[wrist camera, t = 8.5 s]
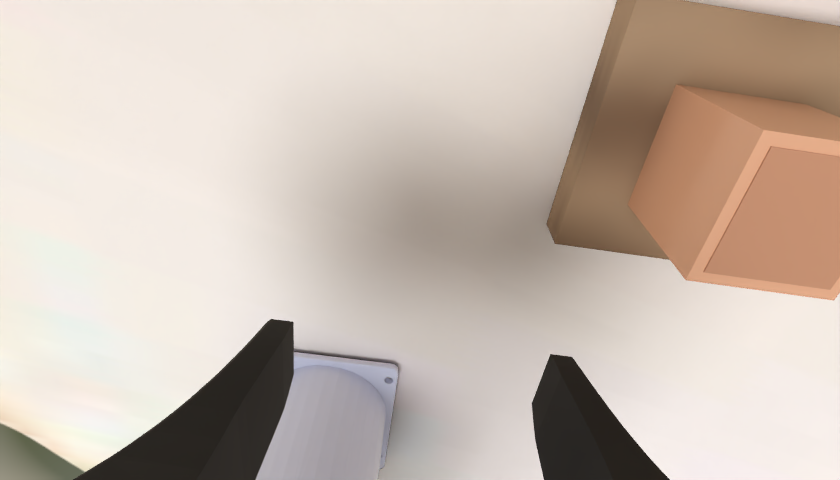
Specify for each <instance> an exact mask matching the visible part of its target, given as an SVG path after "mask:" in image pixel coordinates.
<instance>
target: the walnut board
mask: <svg viewBox="0 0 840 480" xmlns="http://www.w3.org/2000/svg"><path fill="white" fill-rule="evenodd" d="M676 84H678V85H684V86H691V87H697V88H704V89H710V90H717V91H723V92H730V93H736V94H743V95H749V96H756V97H762V98H769V99H775V100H782V101H788V102H795V103H801V104H807V105H809V106H812V107H814V108H817V109H819V110H822V111H825V112H827V113H830V114H832V115H835V116H837V117H840V26H835V25H829V24H822V23H816V22H810V21H804V20H798V19H792V18H786V17H780V16H774V15H768V14H762V13H755V12H749V11H743V10H737V9H731V8H725V7H719V6H713V5H707V4H701V3H695V2H689V1H682V0H617V3H616V6H615V9H614V12H613V15H612V18H611V22H610V25H609V28H608V31H607V34H606V37H605V41H604V44H603V47H602V50H601V53H600V56H599V60H598V63H597V66H596V69H595V72H594V75H593V79H592V82H591V85H590V88H589V91H588V94H587V98H586V101H585V104H584V107H583V110H582V113H581V117H580V120H579V123H578V126H577V129H576V132H575V136H574V139H573V142H572V145H571V148H570V151H569V155H568V158H567V161H566V164H565V167H564V170H563V174H562V177H561V180H560V183H559V186H558V189H557V193H556V196H555V199H554V202H553V205H552V208H551V212H550V215H549V218H548V221H547V226H548V228H549V231H550V233H551V235H552V238H553V240H554V243H555V244H561V245H568V246H575V247H583V248H590V249H597V250H604V251H611V252H619V253H626V254H633V255H640V256H647V257H655V258H662V259H669V258H668V256H667V255H666V254H665V253H664V251H663V250H662V249H661V247H660V246H659V245H658V243H657V242H656V241H655V240H654V238H653V237H652V236H651V234H650V233H649V232H648V231H647V229H646V228H645V227H644V225H643V224H642V223H641V221H640V220H639V219H638V218H637V216H636V215H635V214H634V212H633V211H632V210H631V208H630V207H629V206H628V202H629V200H630V197H631V195H632V192H633V190H634V187H635V185H636V182H637V180H638V178H639V175H640V173H641V170H642V168H643V165H644V163H645V160H646V158H647V155H648V153H649V150H650V148H651V145H652V143H653V140H654V138H655V135H656V133H657V130H658V128H659V125H660V123H661V120H662V118H663V116H664V113H665V111H666V108H667V106H668V103H669V101H670V98H671V96H672V93H673V91H674V88H675V86H676ZM669 260H670V259H669Z"/></svg>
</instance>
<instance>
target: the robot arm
mask: <svg viewBox="0 0 840 480" xmlns="http://www.w3.org/2000/svg"><path fill="white" fill-rule="evenodd" d="M398 372H399V370H398V367H397V366H396V365H394V364H389V363H381V362H373V361H365V360H356V359H348V358H340V357H331V356H323V355H315V354H306V353H298V352H294V340H293V322H290V321H282V320H274V319H271V320H269V321H268V322H267V323H266V324H265V325H264V326H263V327H262V328H261V329H260V331H259V332H258V333H257V334H256V335H255V336H254V337H253V338H252V339H251V340H250V342H249V343H248V344H247V345H246V346H245V347H244V348H243V349H242V350H241V351H240V352H239V353H238V354H237V355H236V356H235V357H234V358H233V359H232V360H231V361H230V362H229V363H228V364H227V365H226V366H225V367H224V368H223V369H222V370H221V371H220V372H219V373H218V374H217V375H216V376H215V377H214V378H212V379H211V380H210V381H209V382H208V383H207V384H206V385H205V386H203V387H202V388H201V389H200V390H199V391H198V392H197V393H196V394H194V395H193V396H192V397H191V398H190V399H189V400H188V401H186V402H185V403H184V404H183V405H181V406H180V407H179V408H178V409H177V410H175V411H174V412H173V413H172V414H170V415H169V416H168V417H166V418H165V419H164V420H162V421H161V422H160V423H159V424H157V425H156V426H155V427H153V428H152V429H150V430H149V431H148V432H146V433H145V434H143V435H142V436H141V437H139V438H138V439H136V440H135V441H133V442H132V443H131V444H129V445H128V446H126V447H125V448H123V449H122V450H120V451H119V452H117V453H116V454H114V455H113V456H111V457H109V458H108V459H106V460H105V461H103V462H101V463H100V464H98V465H96V466H95V467H93V468H91V469H90V470H88V471H87V472H85V473H83V474H82V475H80V476H78V477H77V478H75V479H73V480H378V476H379V469H382V468H383V467H384V465H385V459H386V452H387V446H388V439H389V432H390V426H391V419H392V413H393V406H394V400H395V393H396V386H397V380H398ZM387 377H390V379H389V378H387ZM532 410H533V422H534V431H535V440H536V445H537V449H538V454H539V459H540V463H541V468H542V472H543V477H544V480H670V479H669V478H668V477H667V476H666V475H665V474H664V473H663V472H662V471H661V470H660V469H659V468H658V467H657V466H656V465H655V464H654V462H653V461H652V460H651V459H650V458H649V457H648V456H647V455H646V453H645V452H644V451H643V450H642V449H641V447H640V446H639V445H638V444H637V443H636V442H635V440H634V439H633V438H632V437H631V436H630V434H629V433H628V432H627V431H626V429H625V428H624V427H623V426H622V424H621V423H620V422H619V421H618V419H617V418H616V417H615V415H614V414H613V413H612V411H611V410H610V409H609V407H608V406H607V405H606V403H605V402H604V401H603V399H602V398H601V397H600V395H599V394H598V393H597V391H596V390H595V388H594V387H593V386H592V384H591V383H590V381H589V380H588V379H587V377H586V376H585V374H584V373H583V372H582V370H581V369H580V367H579V366H578V365H577V363H576V362H575V361H574V359H573V358H572V357H568V356H560V355H552V354H550V357H549V360H548V362H547V365H546V368H545V370H544V373H543V376H542V378H541V381H540V383H539V386H538V389H537V391H536V394H535V397H534V399H533V402H532Z"/></svg>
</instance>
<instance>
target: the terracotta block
mask: <svg viewBox="0 0 840 480" xmlns="http://www.w3.org/2000/svg"><path fill="white" fill-rule="evenodd" d="M628 206H629V207H630V208H631V210H632V211H633V212H634V214H635V215H636V216H637V218H638V219H639V220H640V221H641V223H642V224H643V225H644V227H645V228H646V229H647V231H648V232H649V233H650V234H651V236H652V237H653V238H654V240H655V241H656V242H657V243H658V245H659V246H660V247H661V249H662V250H663V251H664V253H665V254H666V255H667V256H668V258H669V259H670V260H671V262H672V263H673V264H674V265H675V267H676V268H677V269H678V271H679V272H680V273H681V275H682V276H683V277H684V278H685V280H689V281H696V282H703V283H711V284H718V285H725V286H733V287H740V288H747V289H755V290H762V291H769V292H776V293H784V294H791V295H798V296H806V297H813V298H820V299H828V300H835V298H836V297H837V295H838V294H839V293H840V117H837V116H835V115H832V114H830V113H827V112H825V111H822V110H819V109H817V108H814V107H812V106H809V105H807V104H801V103H795V102H788V101H782V100H775V99H769V98H762V97H756V96H749V95H743V94H736V93H730V92H723V91H717V90H710V89H704V88H697V87H691V86H684V85H678V84H676V86H675V88H674V91H673V93H672V96H671V98H670V101H669V103H668V106H667V108H666V111H665V113H664V116H663V118H662V120H661V123H660V125H659V128H658V130H657V133H656V135H655V138H654V140H653V143H652V145H651V148H650V150H649V153H648V155H647V158H646V160H645V163H644V165H643V168H642V170H641V173H640V175H639V178H638V180H637V182H636V185H635V187H634V190H633V192H632V195H631V197H630V200H629V202H628Z"/></svg>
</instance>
